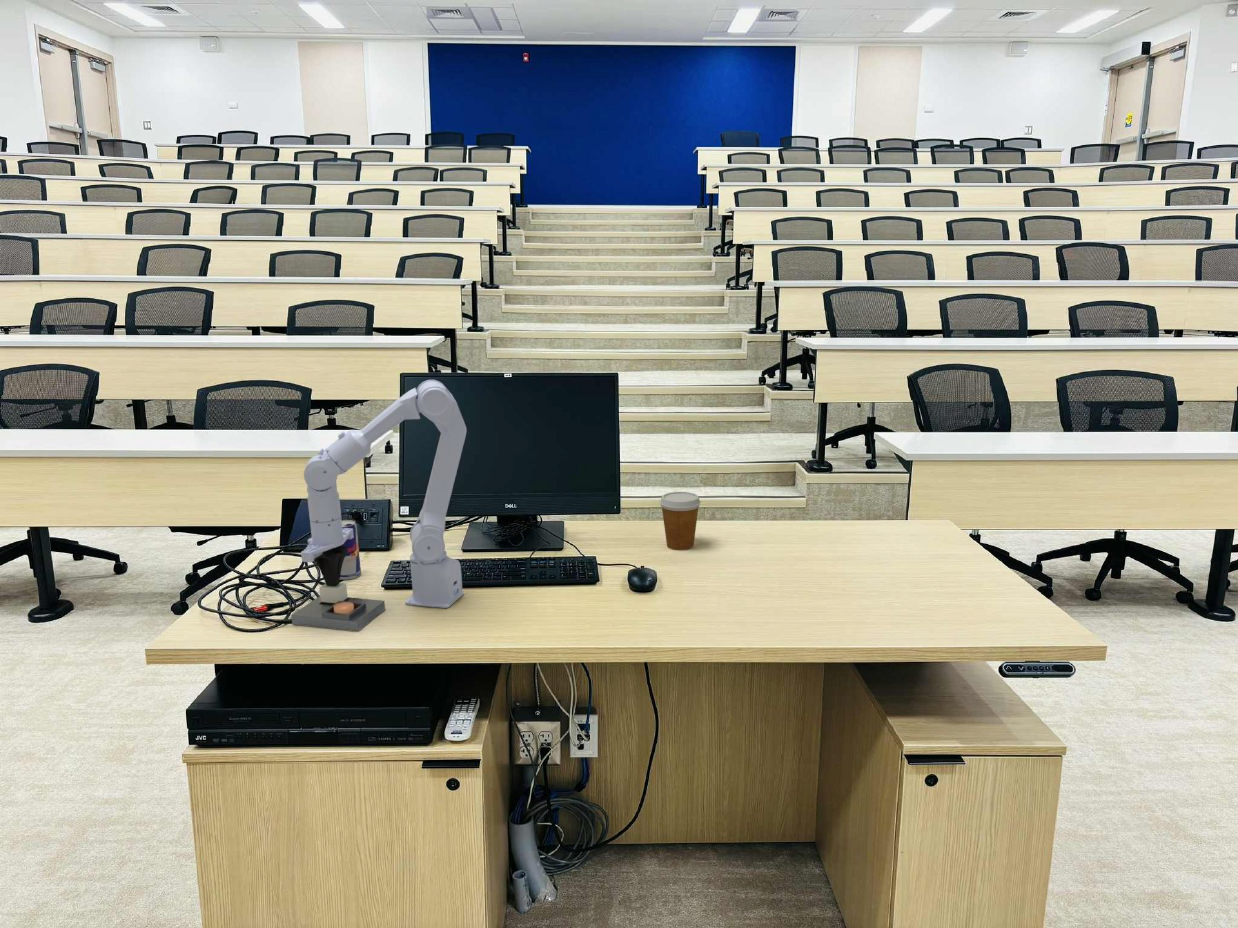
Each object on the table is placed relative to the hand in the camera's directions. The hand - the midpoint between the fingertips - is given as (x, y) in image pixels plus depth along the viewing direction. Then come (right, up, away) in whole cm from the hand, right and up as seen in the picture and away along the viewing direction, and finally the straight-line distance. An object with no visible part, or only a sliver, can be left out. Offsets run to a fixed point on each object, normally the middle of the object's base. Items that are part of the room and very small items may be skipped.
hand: (332, 584), depth 169 cm
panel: (+2, -6, -2) cm, 7 cm away
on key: (0, -3, +1) cm, 3 cm away
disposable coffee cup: (+70, +4, +35) cm, 79 cm away
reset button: (+4, -6, -4) cm, 8 cm away
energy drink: (-3, -1, +20) cm, 20 cm away
